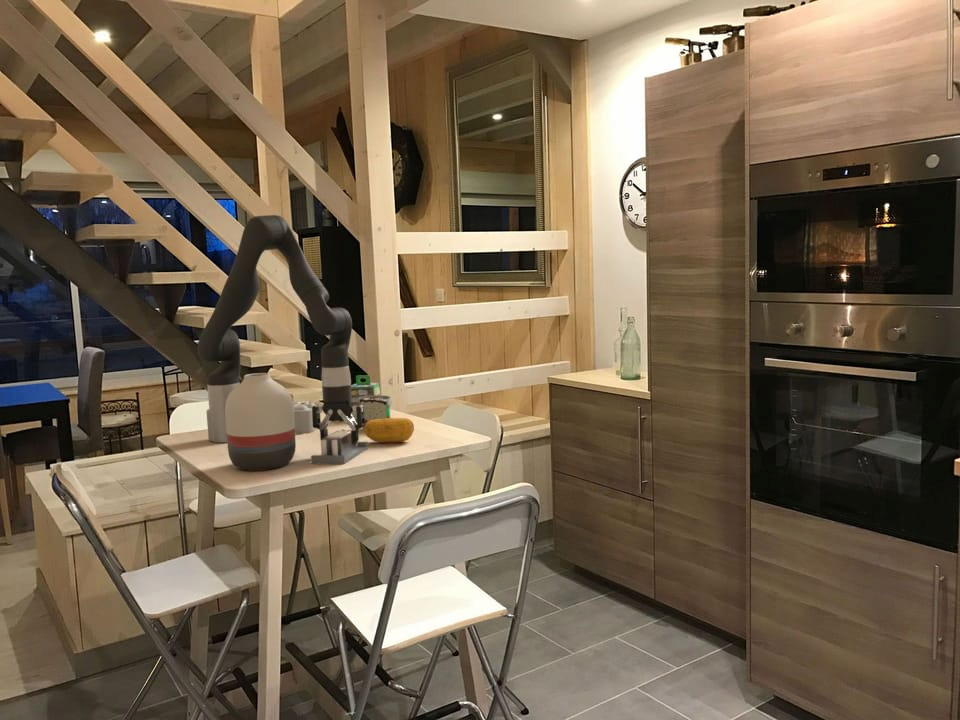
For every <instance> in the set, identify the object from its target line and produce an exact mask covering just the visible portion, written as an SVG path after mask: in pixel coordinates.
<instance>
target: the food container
mask: <svg viewBox="0 0 960 720" xmlns="http://www.w3.org/2000/svg"><path fill="white" fill-rule="evenodd" d="M358 404H359V405H363V406H364V416H365V424H366V423H367V422H368V421H370V420H373V419H384V418H391V406H392V405H393V404H394V403H393V399H392V398H391V396H389V395H381V394H380V395H373V396H363V397H359V399H358ZM362 430H364V427H362Z"/></svg>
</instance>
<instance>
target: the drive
mask: <svg viewBox="0 0 960 720" xmlns="http://www.w3.org/2000/svg"><path fill="white" fill-rule="evenodd" d="M351 431H352V430H347V431H342V430H336V431H334V432H332V433H330V434H328V436H326V437H324V438H322V440H326V444H327V455H332V440H337V447H338V455H340V456H345V455H347V454H349V453H350V452H352V451H354V450H355V449H356V444H355V445H352V442H351Z"/></svg>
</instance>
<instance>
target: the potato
mask: <svg viewBox="0 0 960 720" xmlns="http://www.w3.org/2000/svg"><path fill="white" fill-rule="evenodd" d="M414 426H415V425H414V423H413V421H412V420H411V419H410V418H404V417H401V418H400V417H398V418H397V417H396V418H395V417H390V418H384V419H373V420H370V421H368V422H367V423H366V424H365V426H364V429H363V432H364V434H365V436H366V437H367V438H369V439H370V440H372V441H373V442H378V443H380V444H396V443H401V442H402V443H404V442H405V441H408V440H409V439H410V438H411V437H412V436H413V434H414V430H415V427H414Z"/></svg>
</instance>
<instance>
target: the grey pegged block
mask: <svg viewBox="0 0 960 720" xmlns="http://www.w3.org/2000/svg"><path fill="white" fill-rule="evenodd" d="M341 431H348V429H347V428H342V429H341ZM320 448H321V449H320V451H321V454H319V455H318V454H312V455H311V457H310V459H311V461H310V462H311V464H317V463H320V464H323V465H324V464H327V465H330V464H331V465H332V464H333V465H344V464H346V463H348V462H350V461H351V460H353V459H354V458H356V457H358V456H359V455H360V453H361V454H362V453H364V452H365V451H367V450H368V448H369V446H368V441H358V442H357V443H356V449H355V450H354V451H352V452H350V453H349V454H347V455H345V456H340V455H338V447H337V440H332V455H327V444H326V440H321V439H320ZM366 449H367V450H366ZM363 451H364V452H363Z"/></svg>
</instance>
